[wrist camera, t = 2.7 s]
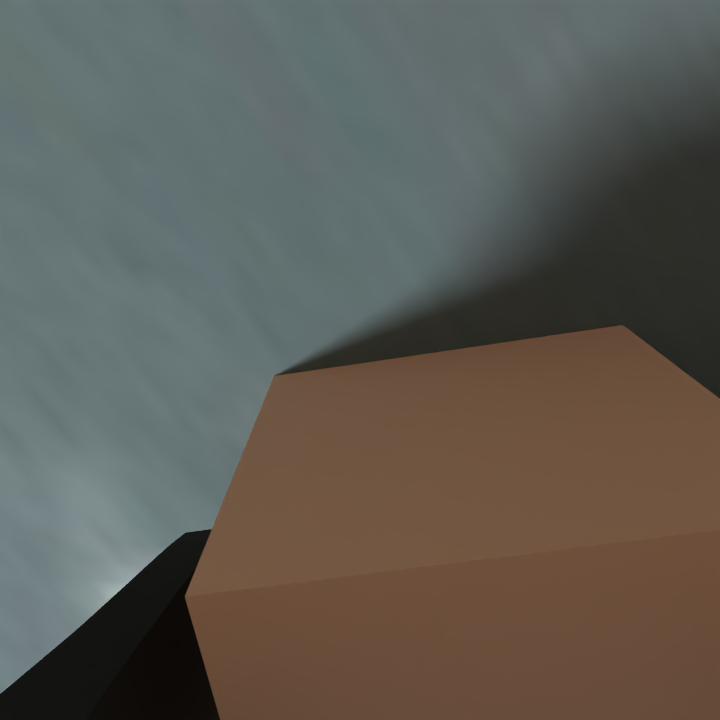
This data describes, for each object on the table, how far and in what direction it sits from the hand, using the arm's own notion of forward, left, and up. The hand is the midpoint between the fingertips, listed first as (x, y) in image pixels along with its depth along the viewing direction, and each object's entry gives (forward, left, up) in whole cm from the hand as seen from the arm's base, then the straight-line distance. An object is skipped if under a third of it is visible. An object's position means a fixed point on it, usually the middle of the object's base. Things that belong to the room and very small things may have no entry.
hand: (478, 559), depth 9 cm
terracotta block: (0, 0, -2) cm, 2 cm away
